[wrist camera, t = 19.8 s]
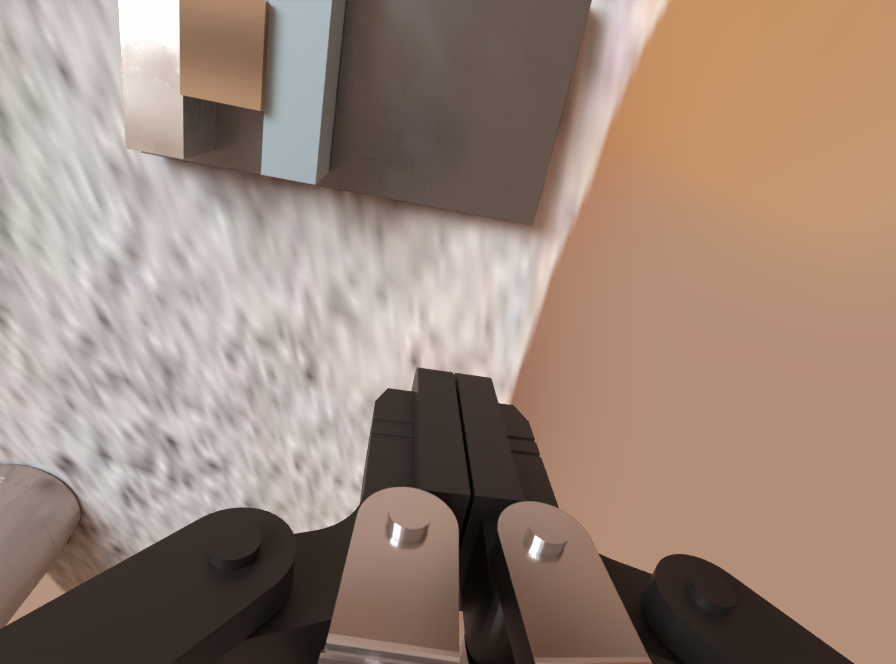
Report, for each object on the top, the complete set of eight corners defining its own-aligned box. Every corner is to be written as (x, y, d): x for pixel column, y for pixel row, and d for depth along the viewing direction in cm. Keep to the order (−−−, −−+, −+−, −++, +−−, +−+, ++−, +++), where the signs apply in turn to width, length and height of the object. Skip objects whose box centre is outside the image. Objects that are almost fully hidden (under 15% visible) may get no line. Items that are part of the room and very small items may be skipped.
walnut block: (286, 108, 33) (260, 111, 27) (219, 94, 32) (179, 94, 27) (292, 17, 31) (265, 0, 25) (221, 1, 30) (179, -20, 25)
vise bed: (526, 219, 38) (549, 243, 32) (155, 149, 35) (98, 161, 29) (582, 1, 33) (623, -22, 26) (147, -108, 29) (74, -163, 23)
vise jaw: (328, 172, 34) (315, 184, 30) (281, 163, 34) (260, 174, 29) (350, -45, 29) (338, -71, 25) (295, -59, 29) (273, -87, 24)
